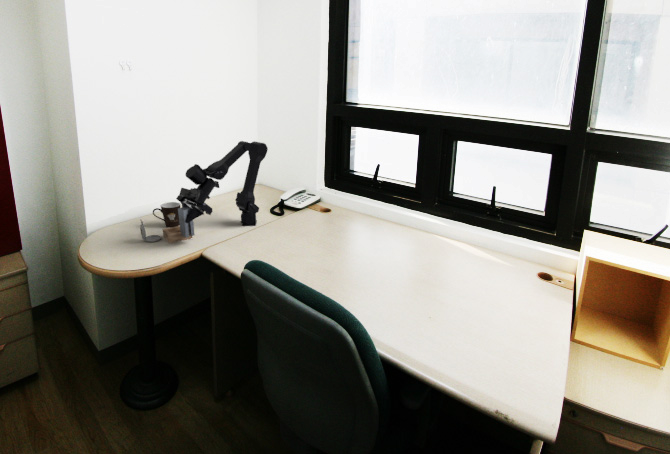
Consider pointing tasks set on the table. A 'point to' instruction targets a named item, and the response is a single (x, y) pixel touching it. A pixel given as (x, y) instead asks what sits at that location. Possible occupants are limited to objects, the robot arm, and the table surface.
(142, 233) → the pocket watch
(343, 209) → the table surface
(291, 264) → the table surface
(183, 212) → the tall gray prism
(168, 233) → the open wooden box
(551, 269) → the table surface
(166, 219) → the coffee mug
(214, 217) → the table surface
